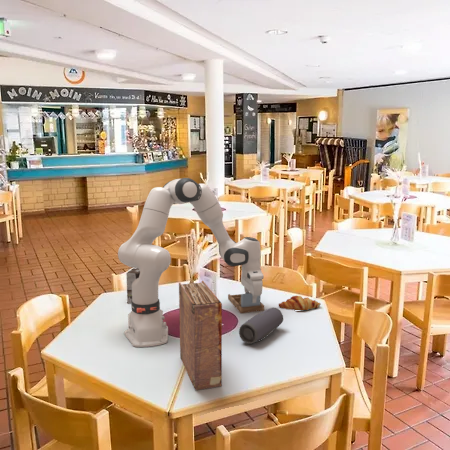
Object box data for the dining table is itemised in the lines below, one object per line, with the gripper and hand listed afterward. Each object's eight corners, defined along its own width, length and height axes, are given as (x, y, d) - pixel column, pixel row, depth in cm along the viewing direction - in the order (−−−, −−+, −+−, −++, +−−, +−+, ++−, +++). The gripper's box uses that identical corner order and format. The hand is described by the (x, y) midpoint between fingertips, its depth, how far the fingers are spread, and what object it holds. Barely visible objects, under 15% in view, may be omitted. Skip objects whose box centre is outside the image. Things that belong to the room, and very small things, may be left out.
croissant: (317, 312, 234) (316, 296, 236) (324, 309, 224) (322, 293, 227) (276, 313, 230) (275, 297, 233) (282, 311, 221) (280, 294, 223)
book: (180, 357, 179) (178, 282, 173) (203, 353, 182) (202, 279, 176) (195, 391, 155) (194, 305, 150) (221, 386, 158) (221, 302, 152)
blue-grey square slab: (260, 309, 224) (260, 293, 223) (242, 311, 222) (242, 295, 220) (258, 308, 227) (258, 292, 225) (241, 310, 224) (241, 294, 223)
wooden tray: (264, 312, 224) (264, 305, 223) (240, 315, 220) (240, 308, 220) (250, 298, 243) (250, 292, 242) (228, 300, 239) (228, 294, 239)
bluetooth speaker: (265, 325, 209) (266, 304, 207) (284, 330, 204) (284, 308, 202) (237, 343, 191) (237, 320, 189) (256, 349, 186) (257, 325, 184)
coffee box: (139, 304, 235) (137, 273, 232) (127, 303, 236) (125, 272, 233) (145, 298, 243) (144, 268, 240) (134, 297, 245) (132, 267, 242)
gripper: (237, 265, 229) (237, 292, 232) (252, 277, 210) (251, 306, 213) (250, 265, 231) (249, 291, 234) (265, 276, 212) (264, 305, 214)
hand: (250, 299), depth 223 cm, fingers open, 8 cm apart
